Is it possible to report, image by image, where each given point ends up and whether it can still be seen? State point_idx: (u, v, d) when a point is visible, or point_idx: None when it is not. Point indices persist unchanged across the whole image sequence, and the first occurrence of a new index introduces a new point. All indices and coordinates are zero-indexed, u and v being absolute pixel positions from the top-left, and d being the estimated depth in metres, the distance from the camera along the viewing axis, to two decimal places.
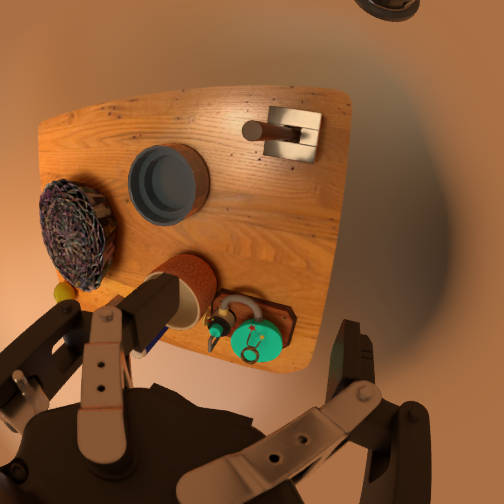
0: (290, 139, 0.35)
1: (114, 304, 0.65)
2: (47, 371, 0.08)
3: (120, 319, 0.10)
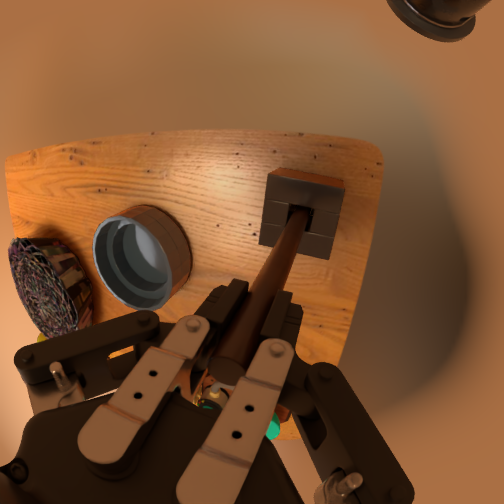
0: None
1: None
2: (96, 373, 0.08)
3: (204, 334, 0.10)
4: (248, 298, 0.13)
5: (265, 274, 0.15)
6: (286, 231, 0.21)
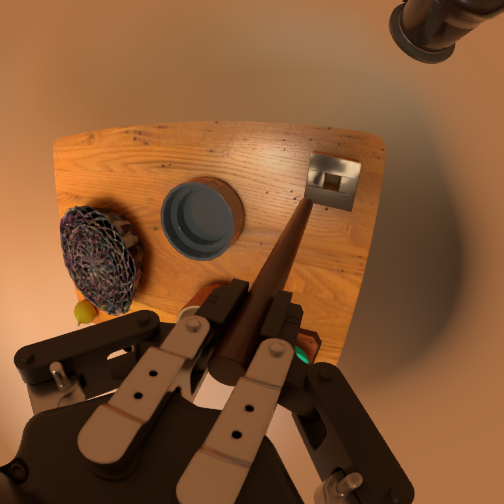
0: None
1: None
2: (96, 373, 0.08)
3: (204, 334, 0.10)
4: (248, 298, 0.13)
5: (265, 274, 0.15)
6: (286, 231, 0.21)
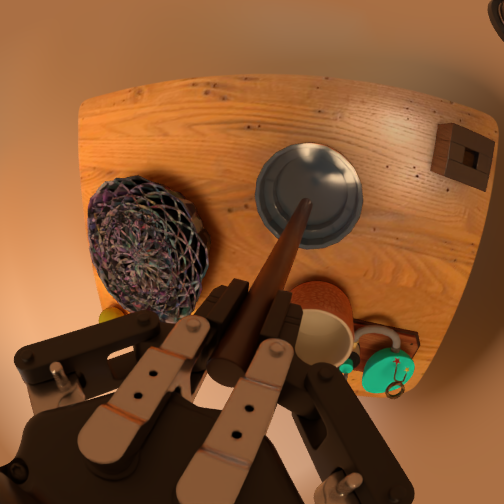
0: None
1: None
2: (96, 373, 0.08)
3: (204, 334, 0.10)
4: (248, 299, 0.13)
5: (264, 275, 0.15)
6: (286, 232, 0.21)
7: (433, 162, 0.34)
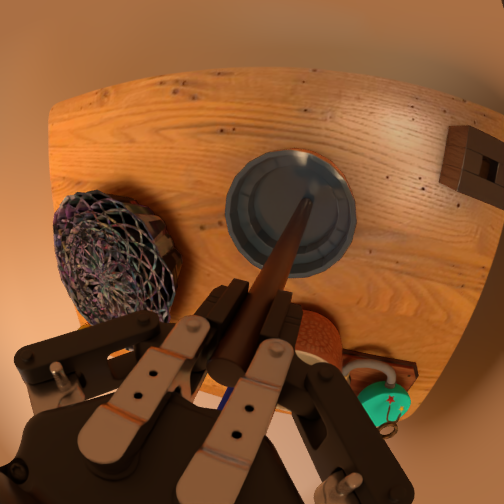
0: None
1: None
2: (96, 373, 0.08)
3: (204, 334, 0.10)
4: (248, 299, 0.13)
5: (265, 275, 0.15)
6: (286, 232, 0.21)
7: (442, 172, 0.28)
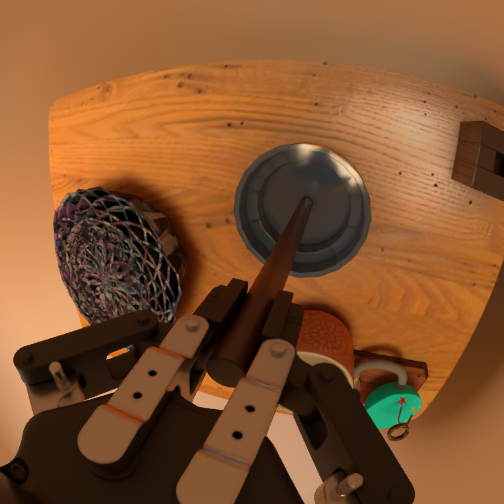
0: None
1: None
2: (95, 373, 0.08)
3: (203, 334, 0.10)
4: (247, 299, 0.13)
5: (264, 275, 0.15)
6: (286, 232, 0.21)
7: (455, 168, 0.26)
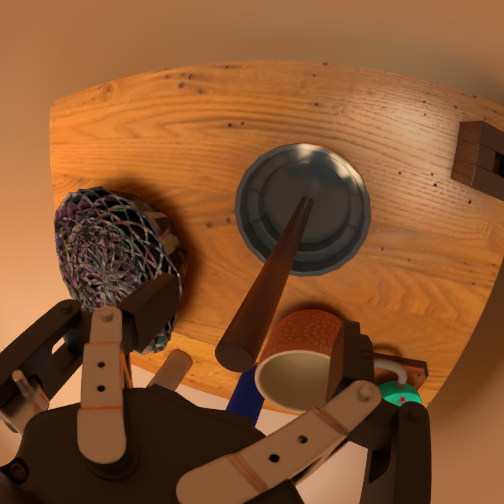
0: None
1: (176, 365, 0.47)
2: (47, 371, 0.08)
3: (120, 319, 0.10)
4: (253, 290, 0.14)
5: (268, 268, 0.16)
6: (288, 228, 0.22)
7: (454, 168, 0.26)
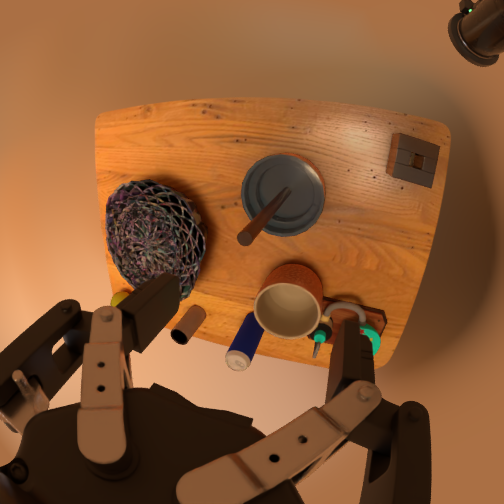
0: None
1: (194, 315, 0.66)
2: (47, 371, 0.08)
3: (120, 319, 0.10)
4: (252, 220, 0.32)
5: (259, 214, 0.34)
6: (271, 201, 0.41)
7: (387, 165, 0.45)
